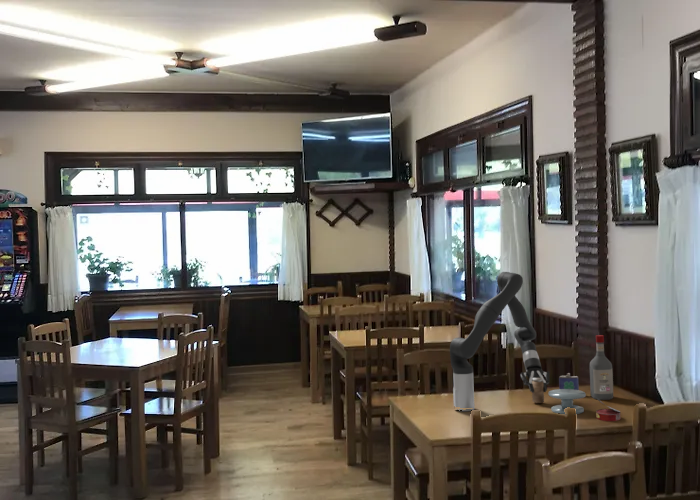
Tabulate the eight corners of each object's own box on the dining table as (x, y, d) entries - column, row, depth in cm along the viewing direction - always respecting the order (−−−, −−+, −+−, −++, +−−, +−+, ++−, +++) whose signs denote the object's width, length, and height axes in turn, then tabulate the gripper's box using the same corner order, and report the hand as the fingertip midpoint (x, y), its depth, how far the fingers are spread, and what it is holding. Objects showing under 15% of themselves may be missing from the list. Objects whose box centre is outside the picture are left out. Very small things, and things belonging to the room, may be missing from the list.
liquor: (614, 399, 332) (612, 336, 331) (595, 400, 332) (593, 337, 331) (608, 395, 341) (605, 333, 340) (589, 395, 341) (587, 334, 340)
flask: (578, 393, 346) (577, 372, 346) (579, 395, 343) (578, 373, 343) (559, 393, 348) (558, 372, 348) (559, 395, 345) (558, 373, 345)
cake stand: (554, 415, 308) (554, 397, 307) (545, 406, 324) (544, 389, 323) (591, 414, 307) (590, 396, 307) (579, 405, 323) (578, 388, 323)
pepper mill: (534, 403, 328) (533, 379, 328) (531, 400, 333) (530, 377, 333) (545, 402, 328) (544, 379, 328) (542, 400, 333) (541, 377, 333)
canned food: (600, 426, 305) (601, 403, 309) (624, 426, 299) (624, 403, 303) (590, 419, 298) (591, 396, 302) (614, 419, 291) (615, 396, 296)
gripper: (518, 357, 338) (525, 387, 326) (547, 356, 338) (555, 386, 326) (515, 366, 343) (522, 396, 331) (545, 365, 343) (552, 395, 331)
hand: (539, 391), depth 329 cm, fingers closed on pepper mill, 5 cm apart
